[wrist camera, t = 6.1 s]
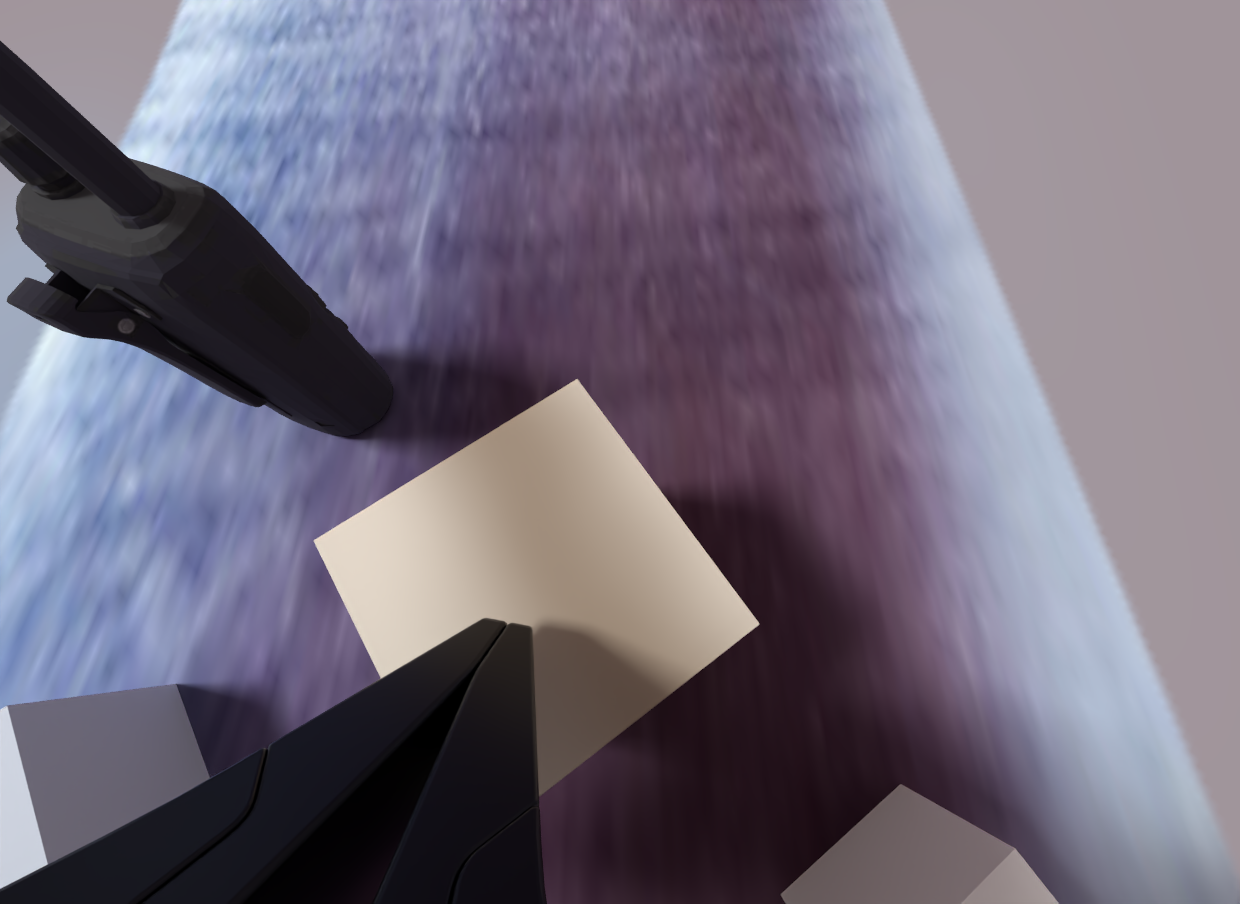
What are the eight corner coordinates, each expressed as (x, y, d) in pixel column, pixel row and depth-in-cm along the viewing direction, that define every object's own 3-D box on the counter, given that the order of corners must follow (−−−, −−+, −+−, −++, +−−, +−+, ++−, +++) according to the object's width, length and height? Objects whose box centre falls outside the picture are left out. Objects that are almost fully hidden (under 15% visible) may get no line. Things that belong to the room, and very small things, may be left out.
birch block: (547, 736, 16) (467, 853, 8) (459, 581, 18) (313, 540, 10) (693, 626, 18) (759, 623, 9) (597, 489, 19) (577, 379, 11)
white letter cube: (65, 943, 15) (-212, 1100, 10) (24, 780, 16) (-238, 848, 11) (230, 828, 16) (50, 920, 11) (177, 683, 17) (-2, 706, 12)
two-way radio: (416, 383, 21) (-33, -150, 6) (360, 480, 19) (-363, 74, 5) (301, 342, 21) (-335, -224, 7) (239, 433, 20) (-697, -43, 6)
